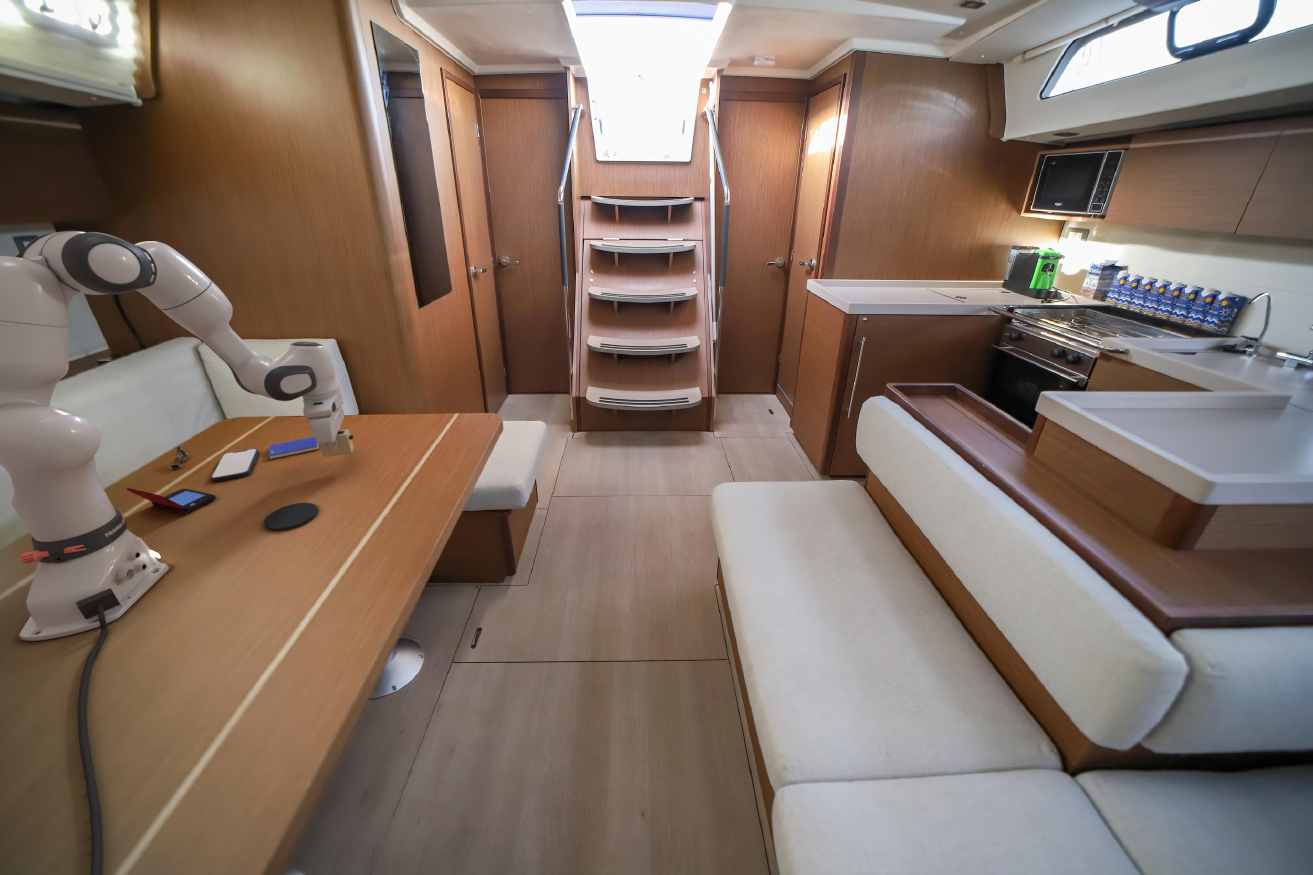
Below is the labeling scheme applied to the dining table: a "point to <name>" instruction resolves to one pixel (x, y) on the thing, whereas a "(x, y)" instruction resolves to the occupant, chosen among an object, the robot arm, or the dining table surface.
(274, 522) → the mat
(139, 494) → the handheld console
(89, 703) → the dining table surface
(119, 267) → the robot arm
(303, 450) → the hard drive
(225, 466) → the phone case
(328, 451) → the beige block
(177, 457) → the grey jointed piece
